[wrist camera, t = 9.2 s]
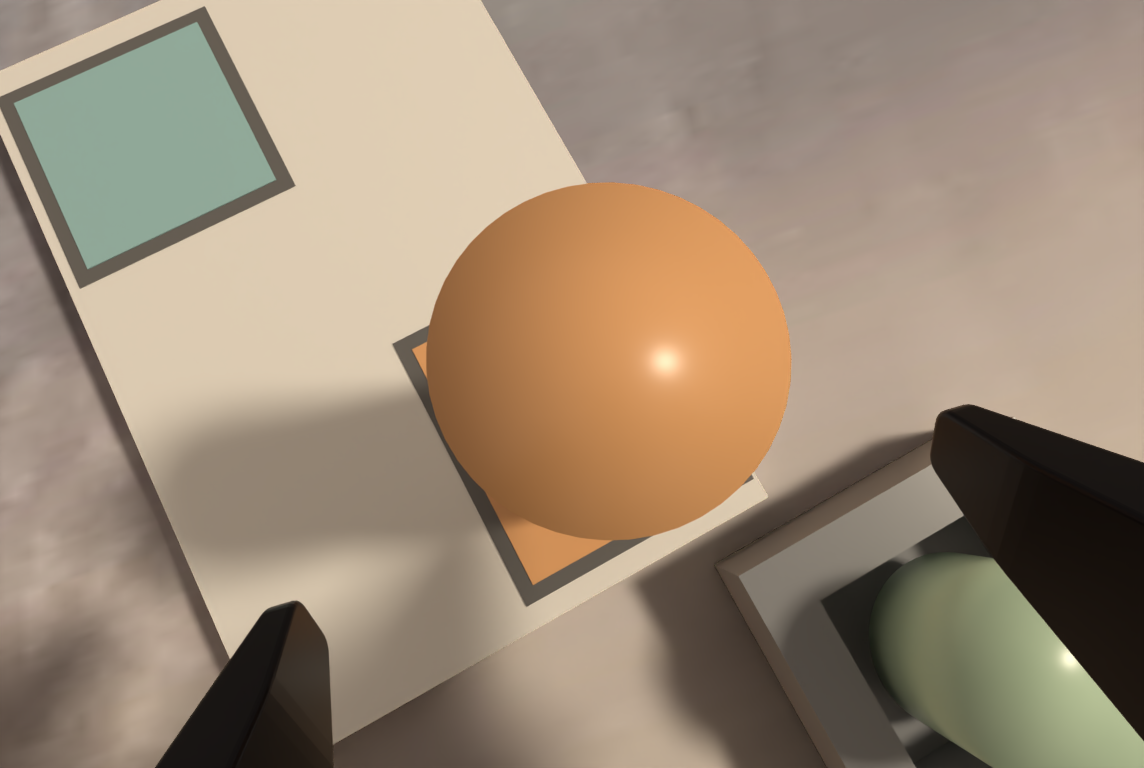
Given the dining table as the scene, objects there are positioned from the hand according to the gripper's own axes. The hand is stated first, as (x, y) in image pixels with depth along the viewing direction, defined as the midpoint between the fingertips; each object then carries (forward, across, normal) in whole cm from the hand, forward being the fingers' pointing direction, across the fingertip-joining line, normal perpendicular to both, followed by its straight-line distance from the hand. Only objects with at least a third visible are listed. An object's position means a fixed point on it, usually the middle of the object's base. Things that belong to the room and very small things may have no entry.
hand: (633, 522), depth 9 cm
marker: (+7, 0, +4) cm, 8 cm away
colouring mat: (+12, +5, +1) cm, 13 cm away
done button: (+2, -7, +9) cm, 12 cm away
